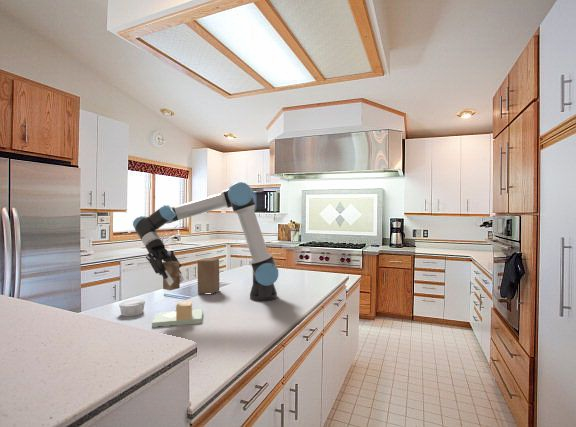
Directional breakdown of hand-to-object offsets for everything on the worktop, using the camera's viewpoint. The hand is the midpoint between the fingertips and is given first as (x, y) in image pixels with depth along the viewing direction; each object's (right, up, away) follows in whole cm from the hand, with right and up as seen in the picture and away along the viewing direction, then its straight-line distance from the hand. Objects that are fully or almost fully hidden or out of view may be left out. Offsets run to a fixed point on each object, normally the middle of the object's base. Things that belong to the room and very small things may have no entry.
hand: (176, 282), depth 142 cm
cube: (+4, -15, -2) cm, 16 cm away
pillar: (-3, -3, +2) cm, 5 cm away
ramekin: (-25, -18, +11) cm, 33 cm away
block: (+2, -17, +49) cm, 52 cm away
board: (+1, -17, +1) cm, 17 cm away
